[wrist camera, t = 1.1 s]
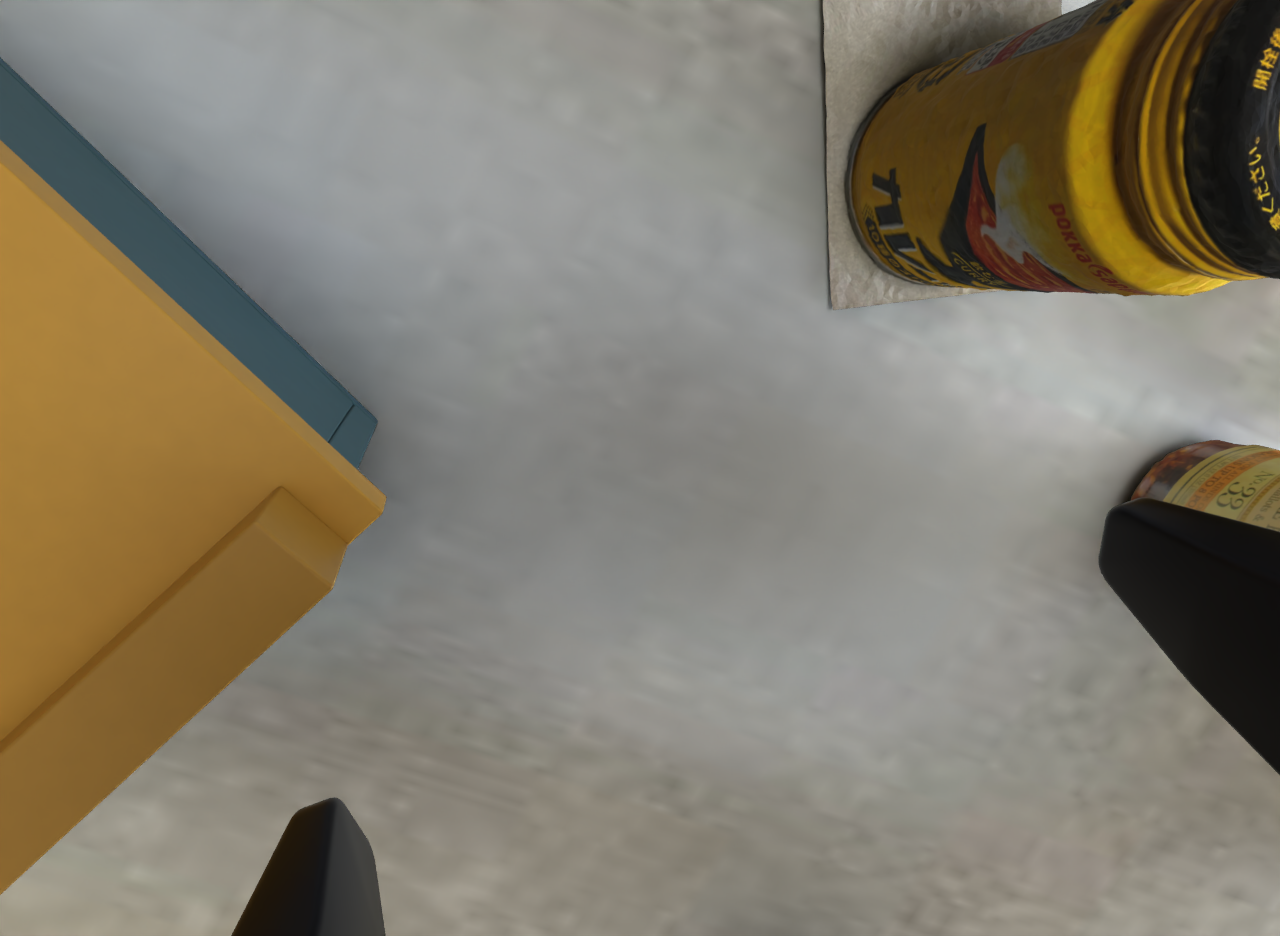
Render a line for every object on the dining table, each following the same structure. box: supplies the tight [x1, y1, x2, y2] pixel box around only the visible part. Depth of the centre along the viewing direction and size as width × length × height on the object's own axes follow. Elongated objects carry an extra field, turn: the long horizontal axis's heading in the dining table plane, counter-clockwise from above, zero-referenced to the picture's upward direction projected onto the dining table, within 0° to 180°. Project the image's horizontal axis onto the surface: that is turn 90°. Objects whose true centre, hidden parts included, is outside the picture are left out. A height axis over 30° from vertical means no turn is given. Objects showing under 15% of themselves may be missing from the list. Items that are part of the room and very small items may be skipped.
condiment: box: [823, 0, 1280, 310], centre depth 18 cm, size 7×8×12 cm
